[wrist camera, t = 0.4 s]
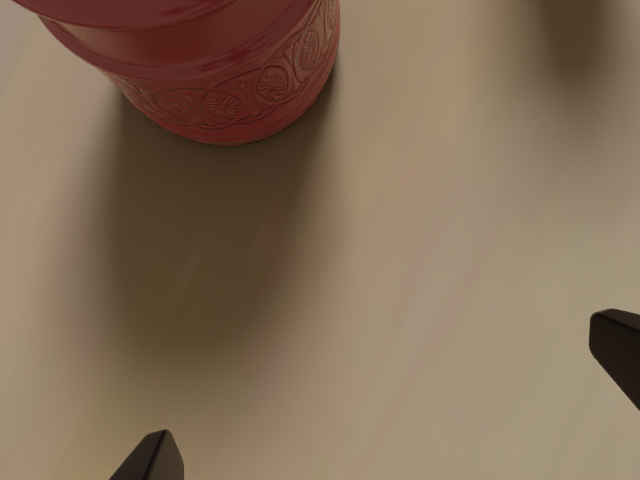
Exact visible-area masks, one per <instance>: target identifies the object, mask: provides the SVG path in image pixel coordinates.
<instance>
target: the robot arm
mask: <svg viewBox="0 0 640 480" xmlns="http://www.w3.org/2000/svg"><path fill="white" fill-rule="evenodd" d="M589 348H590V351H591V353H592V355H593V356H594V358H595V359H596V360H597V361H598V362H599V364H600V365H601V366H602V367H603V368H604V370H605V371H606V372H607V373H608V374H609V375H610V377H611V378H612V379H613V380H614V381H615V382H616V384H617V385H618V386H619V387H620V388H621V390H622V391H623V392H624V393H625V394H626V395H627V397H628V398H629V399H630V400H631V401H632V403H633V404H634V405H635V406H636V407H637V408H638V409H639V411H640V315H639V314H635V313H631V312H626V311H622V310H618V309H606V310H602V311H599V312H595V313H594V314H592V316H591V318H590V331H589ZM109 480H184V464H183V460H182V457H181V455H180V452H179V450H178V448H177V445H176V443H175V441H174V438H173V436H172V434H171V432H170V431H169V430H166V429H165V430H161V431H157V432H154V433H150V434H148V435H146V436H145V437H144V438H143V439H142V440H141V442H140V443H139V444H138V445H137V446H136V448H135V449H134V450H133V451H132V452H131V454H130V455H129V456H128V457H127V458H126V460H125V461H124V462H123V463H122V464H121V466H120V467H119V468H118V469H117V470H116V472H115V473H114V474H113V475H112V476H111V478H110V479H109Z"/></svg>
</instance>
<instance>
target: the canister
mask: <svg viewBox="0 0 640 480" xmlns="http://www.w3.org/2000/svg"><path fill="white" fill-rule="evenodd" d="M12 1H13V2H15V3H16V4H18V5H20V6H21V7H23V8H25V9H27V10H29V11H31V12H33V13H35V14H37V15H38V17H39V19H40V20H41V21H42V23H43V24H44V25H45V27H46V28H47V29H48V30H49V31H50V32H51V34H52V35H53V36H54V37H55V38H56V39H57V40H58V41H59V42H60V43H61V44H63V45H64V46H65V47H66V48H67V49H68V50H70V51H71V52H72V53H73V54H75V55H76V56H78V57H79V58H81V59H82V60H84V61H85V62H87V63H89V64H91V65H93V66H94V67H95V68H96V69H98V70H99V71H100V72H101V73H102V74H103V75H104V76H106V77H107V78H108V79H109V80H110V81H111V82H112V83H114V84H115V85H116V86H117V87H118V88H119V89H121V91H122V92H123V94H124V95H125V96H126V97H127V99H128V100H129V101H130V102H131V103H132V104H133V105H134V106H135V107H136V108H137V109H138V110H139V111H141V112H142V113H143V114H144V115H146V116H147V117H148V118H149V119H151V120H152V121H153V122H154V123H156V124H158V125H159V126H161V127H162V128H164V129H166V130H168V131H170V132H172V133H174V134H177V135H179V136H182V137H185V138H188V139H191V140H194V141H197V142H201V143H206V144H212V145H240V144H246V143H251V142H255V141H258V140H262V139H264V138H267V137H270V136H272V135H274V134H276V133H278V132H280V131H281V130H283V129H285V128H286V127H288V126H289V125H291V124H292V123H293V122H295V121H296V120H297V119H298V118H300V117H301V116H302V115H303V114H304V113H305V112H306V111H307V110H308V109H309V108H310V106H311V105H312V104H313V103H314V101H315V100H316V99H317V97H318V96H319V94H320V93H321V91H322V89H323V87H324V86H325V83H326V81H327V79H328V77H329V74H330V71H331V69H332V66H333V64H334V61H335V57H336V54H337V50H338V45H339V37H340V5H339V0H12Z"/></svg>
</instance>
